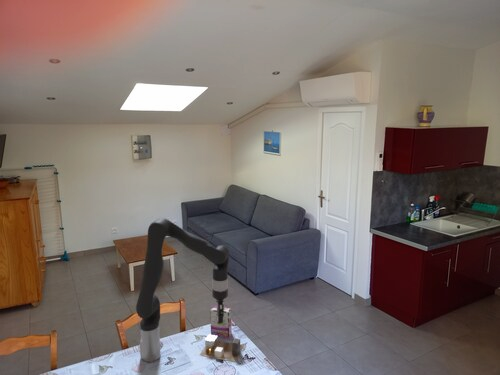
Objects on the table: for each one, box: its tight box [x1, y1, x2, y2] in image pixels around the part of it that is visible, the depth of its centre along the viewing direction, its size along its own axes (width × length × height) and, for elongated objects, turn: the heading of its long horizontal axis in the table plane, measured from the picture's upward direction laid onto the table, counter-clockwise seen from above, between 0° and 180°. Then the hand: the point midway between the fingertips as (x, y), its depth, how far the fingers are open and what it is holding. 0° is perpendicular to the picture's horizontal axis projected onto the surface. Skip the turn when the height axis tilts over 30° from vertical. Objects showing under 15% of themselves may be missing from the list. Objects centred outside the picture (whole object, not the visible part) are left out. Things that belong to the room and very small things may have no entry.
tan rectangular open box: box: [199, 338, 245, 363], centre depth 185 cm, size 20×14×8 cm
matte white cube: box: [215, 347, 223, 358], centre depth 181 cm, size 4×4×4 cm
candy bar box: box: [209, 305, 232, 338], centre depth 199 cm, size 11×5×16 cm, turn 76°
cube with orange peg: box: [204, 334, 219, 354], centre depth 185 cm, size 5×8×6 cm, turn 163°
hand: (220, 317), depth 171 cm, fingers open, 8 cm apart
